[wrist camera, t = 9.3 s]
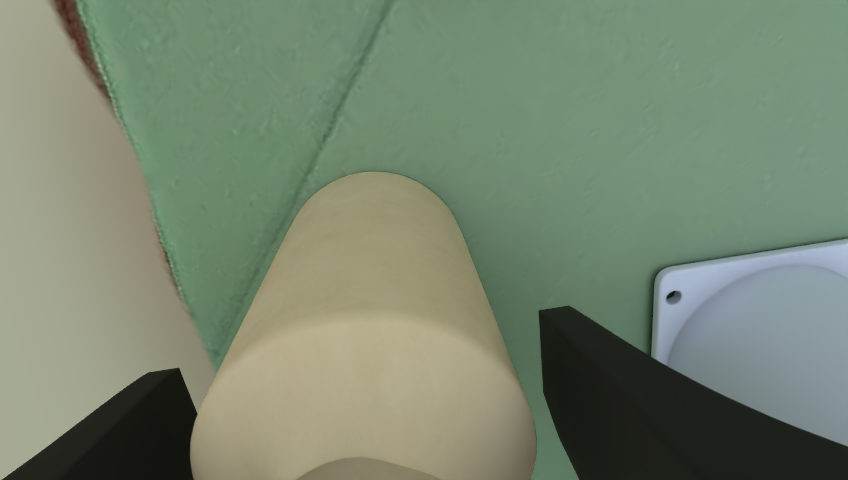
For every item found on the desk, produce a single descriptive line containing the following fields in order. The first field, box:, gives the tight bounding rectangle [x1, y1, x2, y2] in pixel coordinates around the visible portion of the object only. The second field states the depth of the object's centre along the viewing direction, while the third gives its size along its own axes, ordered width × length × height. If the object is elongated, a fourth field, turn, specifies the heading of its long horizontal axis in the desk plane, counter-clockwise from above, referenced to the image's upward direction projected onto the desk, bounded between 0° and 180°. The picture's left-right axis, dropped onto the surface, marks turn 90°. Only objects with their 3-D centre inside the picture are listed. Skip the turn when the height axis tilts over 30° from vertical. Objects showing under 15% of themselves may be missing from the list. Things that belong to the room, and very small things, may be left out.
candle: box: [190, 171, 537, 480], centre depth 11 cm, size 6×6×10 cm
